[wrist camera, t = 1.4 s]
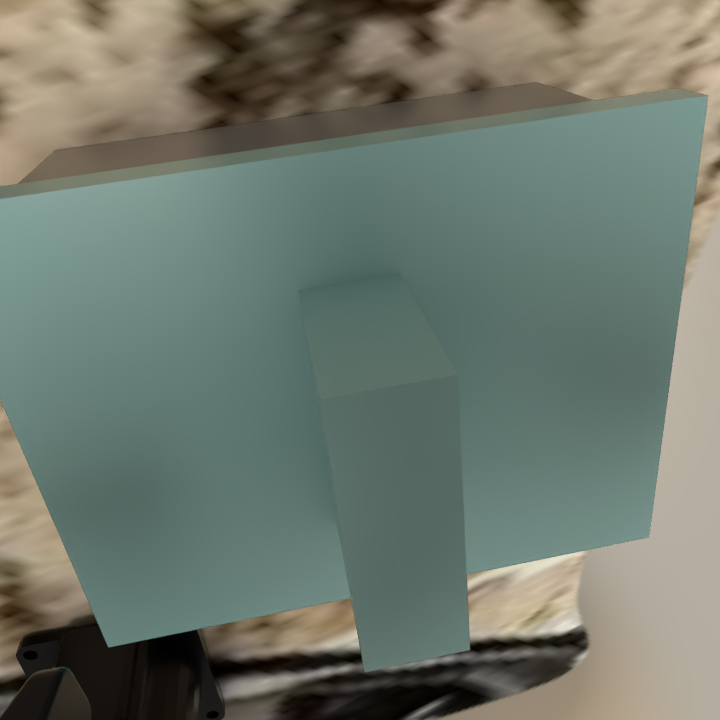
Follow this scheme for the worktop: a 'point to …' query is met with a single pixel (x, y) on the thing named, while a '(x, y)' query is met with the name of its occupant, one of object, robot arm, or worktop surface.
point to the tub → (298, 130)
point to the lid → (351, 363)
